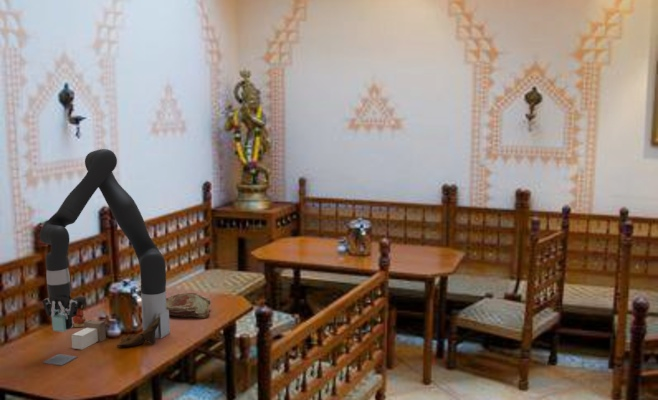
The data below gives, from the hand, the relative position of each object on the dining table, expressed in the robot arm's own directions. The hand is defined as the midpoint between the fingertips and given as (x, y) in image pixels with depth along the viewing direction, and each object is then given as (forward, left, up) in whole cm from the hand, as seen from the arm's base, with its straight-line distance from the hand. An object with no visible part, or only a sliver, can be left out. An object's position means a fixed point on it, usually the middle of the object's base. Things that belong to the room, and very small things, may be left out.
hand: (62, 327), depth 254 cm
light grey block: (+1, -14, -11) cm, 17 cm away
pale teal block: (0, 0, 0) cm, 0 cm away
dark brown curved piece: (-19, -18, -11) cm, 28 cm away
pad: (-1, +3, -11) cm, 11 cm away
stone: (-16, -57, -11) cm, 60 cm away
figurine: (+17, -30, -11) cm, 36 cm away
